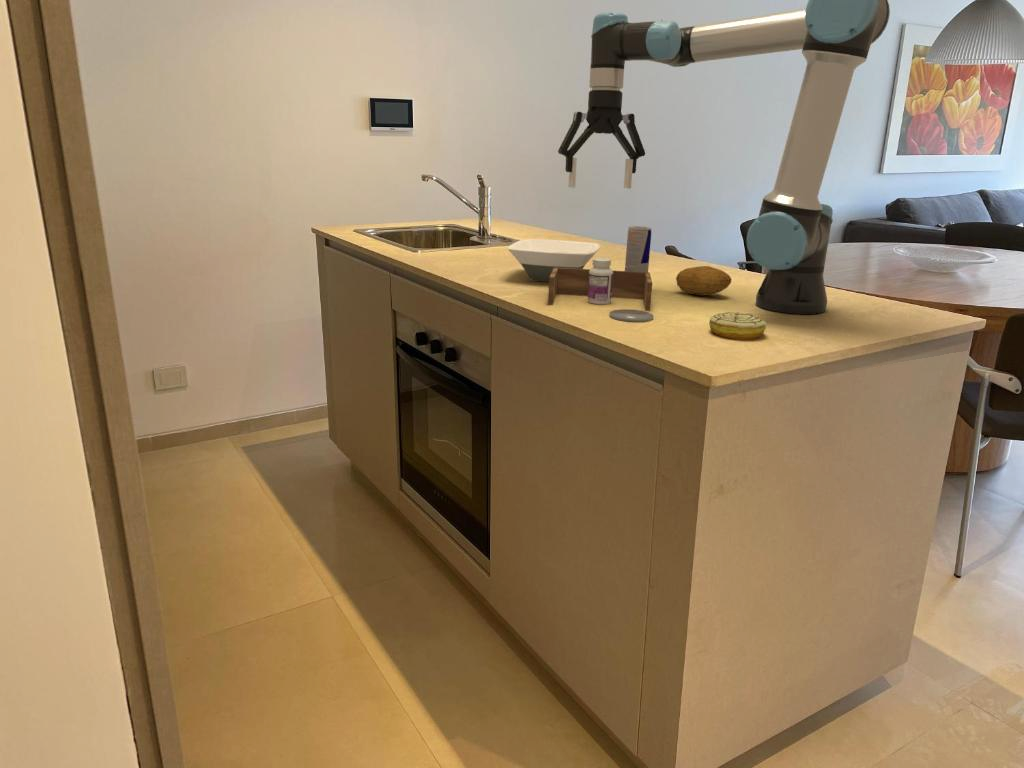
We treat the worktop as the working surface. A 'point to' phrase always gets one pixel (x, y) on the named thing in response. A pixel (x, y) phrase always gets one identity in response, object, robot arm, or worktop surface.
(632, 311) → the coaster
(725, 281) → the potato
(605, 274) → the pill bottle
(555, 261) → the bowl
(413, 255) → the worktop surface
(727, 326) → the decorated donut
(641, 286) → the wooden u-shaped frame
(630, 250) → the beverage can
